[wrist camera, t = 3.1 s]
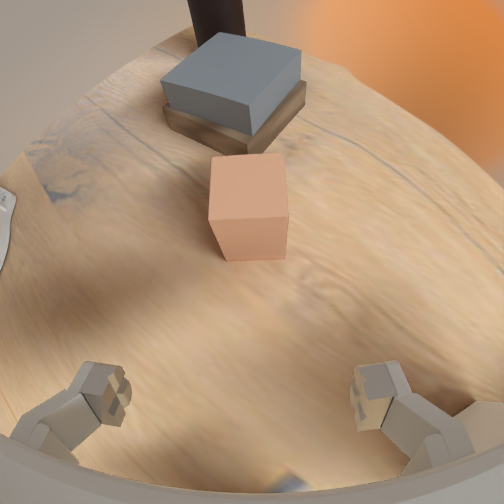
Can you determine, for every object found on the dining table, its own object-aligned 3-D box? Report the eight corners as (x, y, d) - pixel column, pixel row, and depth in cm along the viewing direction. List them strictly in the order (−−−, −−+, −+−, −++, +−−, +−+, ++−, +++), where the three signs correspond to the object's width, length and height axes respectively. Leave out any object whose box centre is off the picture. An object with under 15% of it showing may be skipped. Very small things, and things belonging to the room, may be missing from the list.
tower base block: (172, 131, 33) (162, 108, 30) (229, 78, 36) (225, 55, 32) (250, 169, 30) (247, 144, 27) (304, 107, 33) (306, 81, 29)
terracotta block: (226, 261, 27) (208, 220, 19) (227, 209, 29) (211, 157, 21) (285, 259, 27) (288, 216, 19) (282, 207, 28) (283, 152, 21)
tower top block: (170, 108, 29) (160, 80, 26) (223, 58, 32) (219, 32, 28) (252, 136, 27) (249, 105, 23) (300, 79, 30) (301, 50, 26)
